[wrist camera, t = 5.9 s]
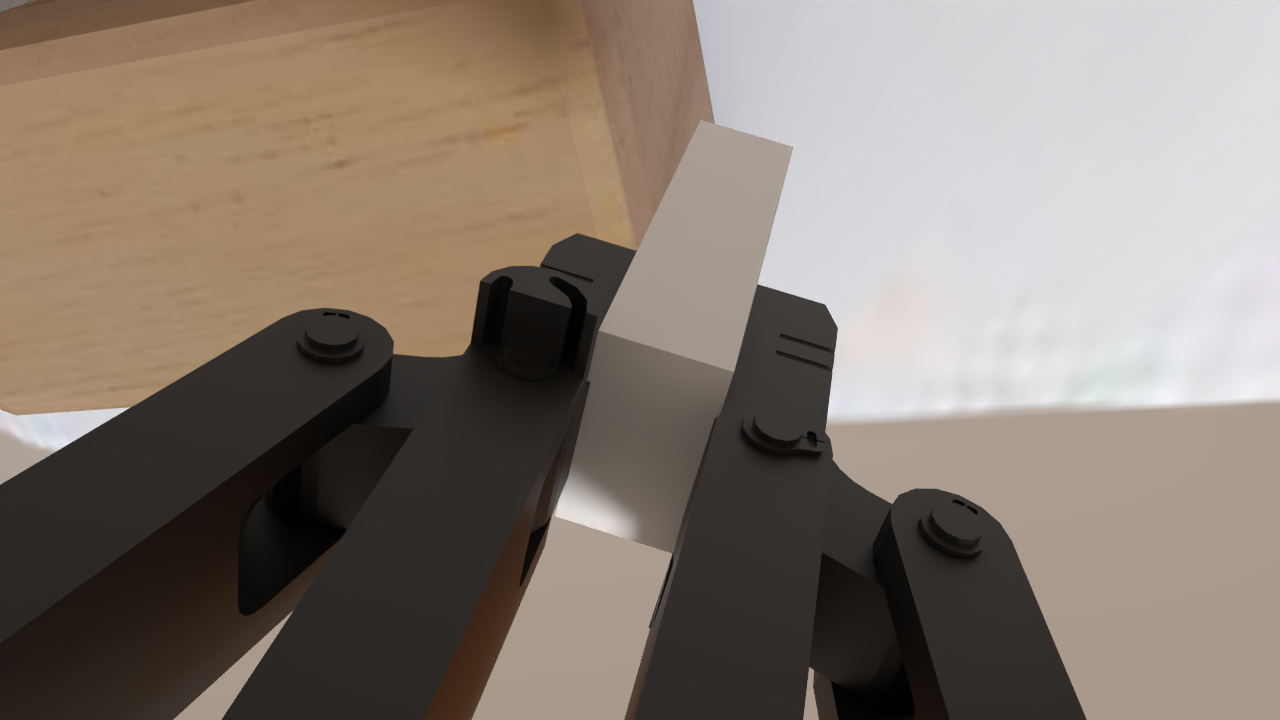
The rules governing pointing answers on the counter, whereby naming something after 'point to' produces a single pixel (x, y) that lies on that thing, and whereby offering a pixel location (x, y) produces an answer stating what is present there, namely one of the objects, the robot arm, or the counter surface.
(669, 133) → the wooden block
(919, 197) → the counter surface
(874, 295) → the counter surface
